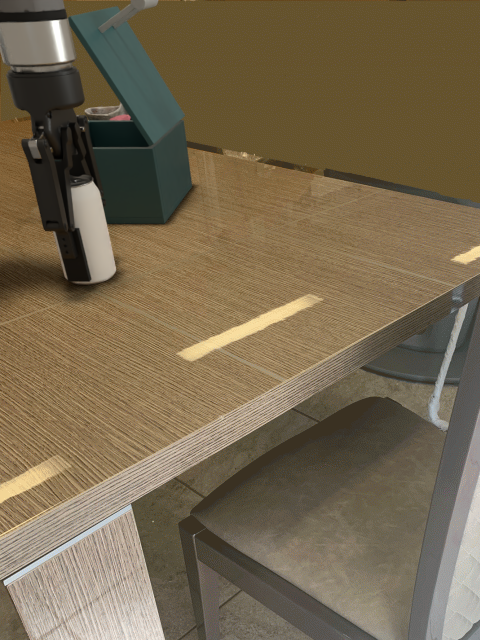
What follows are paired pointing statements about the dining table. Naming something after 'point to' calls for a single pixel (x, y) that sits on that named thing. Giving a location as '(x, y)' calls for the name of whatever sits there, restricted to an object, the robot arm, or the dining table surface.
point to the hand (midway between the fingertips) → (89, 268)
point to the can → (91, 229)
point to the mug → (105, 112)
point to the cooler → (140, 171)
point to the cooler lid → (128, 67)
